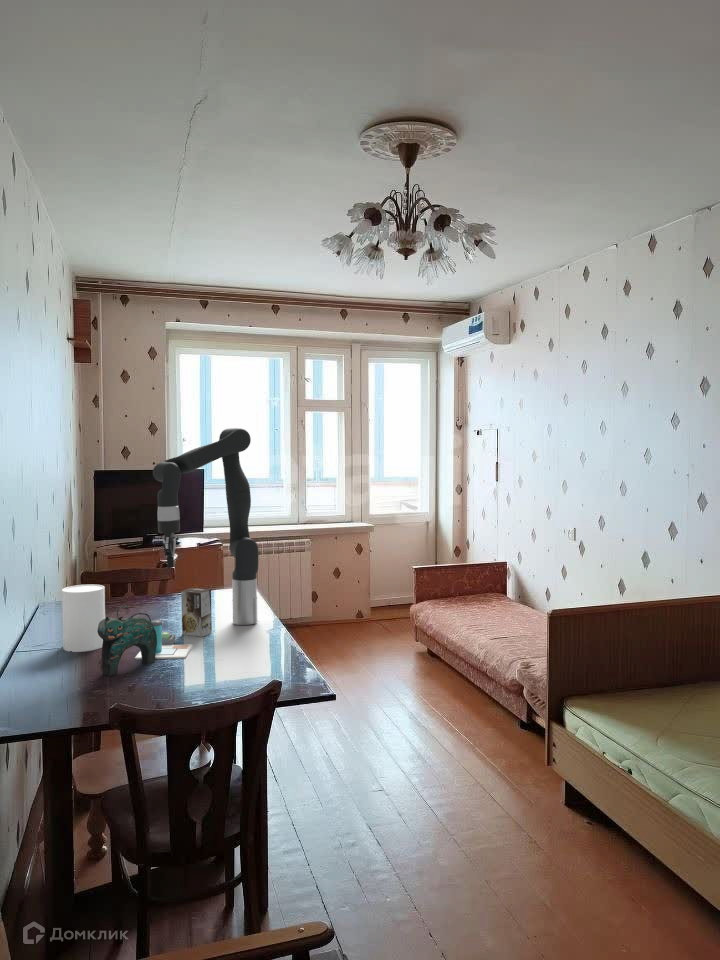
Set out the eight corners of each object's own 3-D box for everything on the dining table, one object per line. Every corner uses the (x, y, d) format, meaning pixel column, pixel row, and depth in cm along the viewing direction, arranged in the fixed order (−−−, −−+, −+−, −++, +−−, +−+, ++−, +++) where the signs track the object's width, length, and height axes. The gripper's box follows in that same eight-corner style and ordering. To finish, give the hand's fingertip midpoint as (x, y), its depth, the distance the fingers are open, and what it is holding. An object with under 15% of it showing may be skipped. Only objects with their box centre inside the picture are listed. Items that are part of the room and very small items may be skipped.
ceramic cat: (106, 679, 209) (105, 611, 208) (93, 675, 212) (92, 609, 211) (160, 661, 225) (159, 599, 224) (147, 658, 229) (146, 597, 228)
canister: (98, 651, 236) (97, 592, 235) (57, 652, 236) (56, 592, 235) (110, 640, 250) (109, 584, 249) (71, 641, 249) (69, 584, 248)
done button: (171, 640, 247) (171, 632, 247) (169, 643, 243) (169, 634, 243) (160, 640, 247) (160, 632, 247) (158, 643, 243) (158, 635, 243)
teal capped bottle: (163, 649, 236) (162, 620, 235) (160, 653, 232) (160, 622, 231) (151, 650, 235) (151, 620, 235) (149, 653, 232) (148, 623, 231)
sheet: (192, 646, 242) (192, 644, 242) (185, 658, 228) (185, 656, 228) (145, 647, 241) (144, 645, 241) (134, 659, 227) (134, 657, 227)
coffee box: (212, 633, 259) (212, 589, 258) (201, 637, 253) (201, 592, 253) (192, 630, 263) (191, 587, 262) (181, 634, 257) (180, 590, 256)
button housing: (175, 641, 248) (175, 634, 248) (172, 646, 242) (172, 639, 242) (158, 641, 248) (157, 634, 248) (154, 646, 242) (154, 639, 242)
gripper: (176, 520, 244) (178, 570, 245) (182, 516, 257) (184, 563, 258) (154, 521, 243) (156, 571, 244) (161, 517, 256) (163, 564, 257)
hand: (170, 567), depth 251 cm, fingers closed
